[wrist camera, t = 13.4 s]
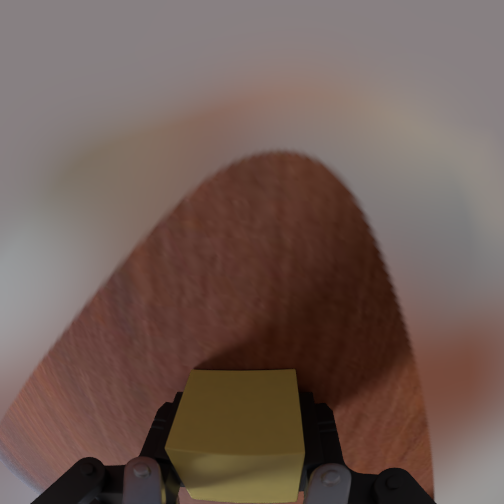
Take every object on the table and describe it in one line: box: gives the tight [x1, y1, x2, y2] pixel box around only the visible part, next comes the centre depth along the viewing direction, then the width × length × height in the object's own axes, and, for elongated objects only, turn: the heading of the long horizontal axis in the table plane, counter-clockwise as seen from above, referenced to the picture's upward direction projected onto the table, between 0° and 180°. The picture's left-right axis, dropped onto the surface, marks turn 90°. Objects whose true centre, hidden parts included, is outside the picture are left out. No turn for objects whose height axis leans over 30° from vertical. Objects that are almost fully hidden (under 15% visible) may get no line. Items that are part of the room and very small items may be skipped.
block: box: [165, 369, 305, 503], centre depth 9 cm, size 4×4×4 cm
